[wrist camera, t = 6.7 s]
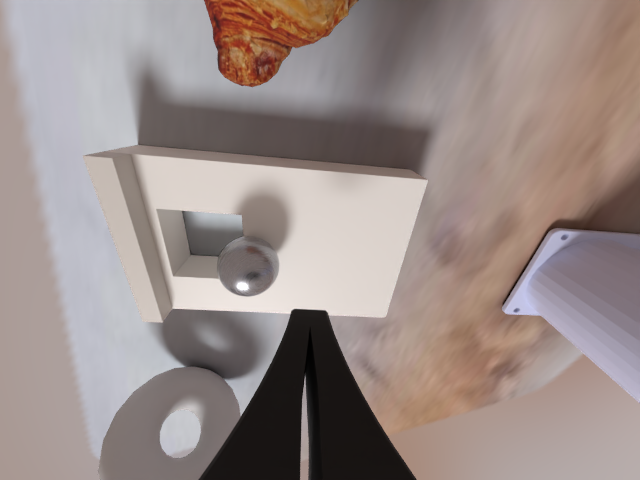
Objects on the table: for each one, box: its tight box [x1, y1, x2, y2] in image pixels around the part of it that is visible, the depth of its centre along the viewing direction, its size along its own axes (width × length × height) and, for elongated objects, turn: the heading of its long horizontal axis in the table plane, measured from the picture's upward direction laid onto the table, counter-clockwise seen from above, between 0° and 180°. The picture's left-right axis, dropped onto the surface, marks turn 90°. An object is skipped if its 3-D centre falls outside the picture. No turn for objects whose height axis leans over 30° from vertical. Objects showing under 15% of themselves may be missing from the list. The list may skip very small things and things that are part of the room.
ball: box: [217, 236, 279, 297], centre depth 13 cm, size 3×3×3 cm
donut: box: [98, 366, 241, 480], centre depth 19 cm, size 10×3×10 cm, turn 51°
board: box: [83, 145, 428, 322], centre depth 15 cm, size 16×10×4 cm, turn 85°
